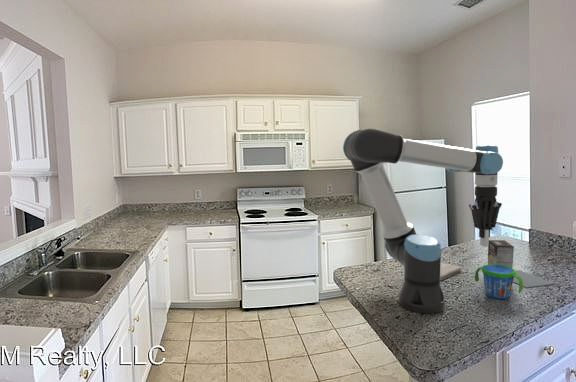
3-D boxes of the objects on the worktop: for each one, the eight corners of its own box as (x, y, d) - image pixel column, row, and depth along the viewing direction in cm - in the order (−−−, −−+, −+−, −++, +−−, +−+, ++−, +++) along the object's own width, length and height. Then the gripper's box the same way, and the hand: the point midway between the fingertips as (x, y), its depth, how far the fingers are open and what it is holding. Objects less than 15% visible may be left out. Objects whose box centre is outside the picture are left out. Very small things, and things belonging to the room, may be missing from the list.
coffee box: (486, 277, 147) (487, 239, 145) (503, 278, 146) (504, 240, 144) (494, 285, 138) (496, 245, 137) (512, 286, 137) (514, 246, 135)
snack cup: (468, 291, 134) (469, 265, 132) (484, 285, 139) (485, 260, 138) (512, 307, 120) (513, 278, 119) (528, 299, 126) (529, 271, 124)
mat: (526, 287, 136) (526, 287, 136) (493, 273, 151) (493, 273, 151) (554, 284, 138) (554, 283, 138) (519, 270, 154) (519, 270, 154)
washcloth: (463, 272, 156) (463, 265, 155) (441, 282, 145) (441, 275, 144) (437, 265, 165) (437, 259, 165) (415, 274, 154) (415, 268, 154)
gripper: (478, 187, 131) (476, 249, 134) (508, 185, 134) (506, 246, 137) (464, 185, 139) (463, 244, 141) (493, 183, 141) (491, 241, 144)
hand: (484, 245), depth 139 cm, fingers closed
